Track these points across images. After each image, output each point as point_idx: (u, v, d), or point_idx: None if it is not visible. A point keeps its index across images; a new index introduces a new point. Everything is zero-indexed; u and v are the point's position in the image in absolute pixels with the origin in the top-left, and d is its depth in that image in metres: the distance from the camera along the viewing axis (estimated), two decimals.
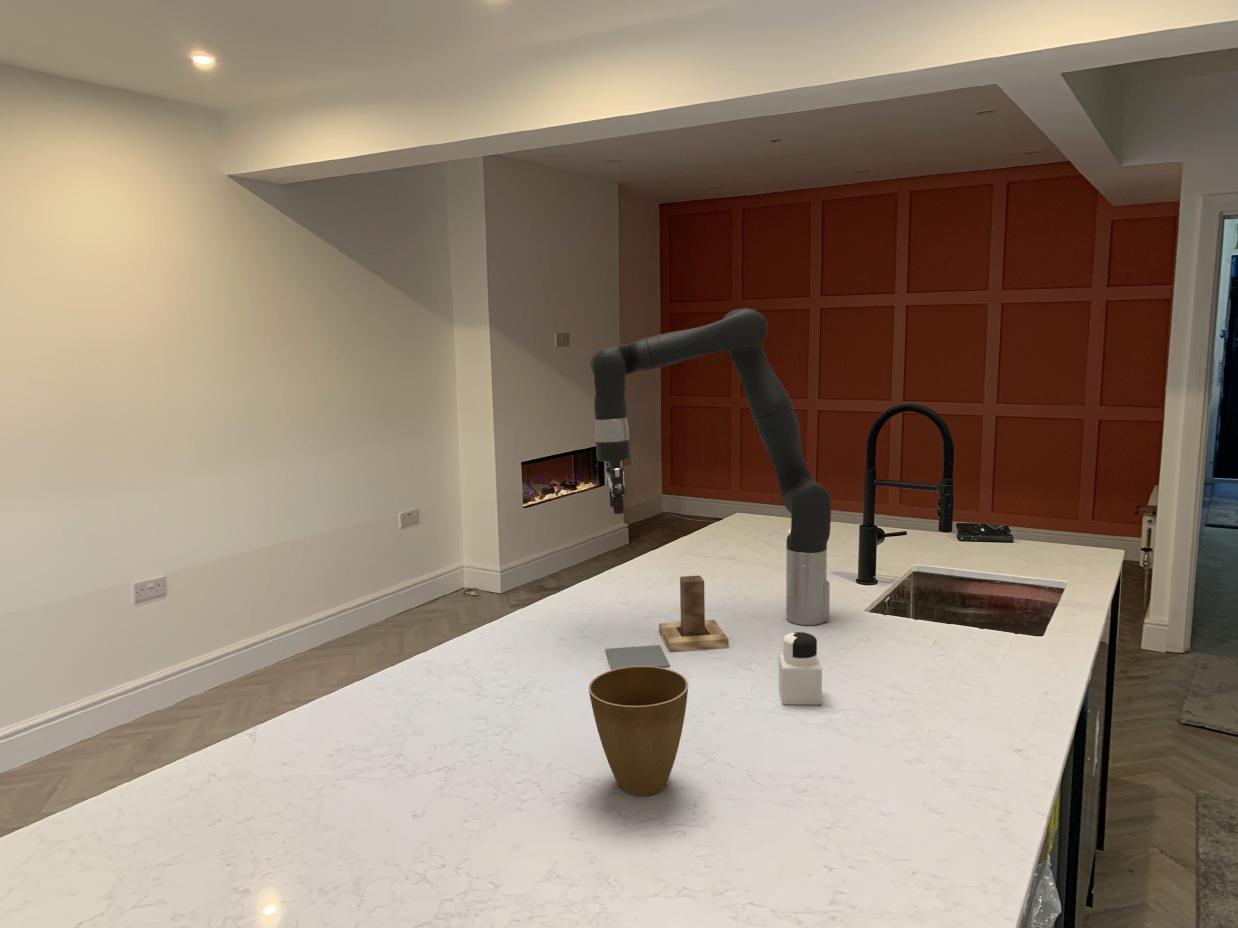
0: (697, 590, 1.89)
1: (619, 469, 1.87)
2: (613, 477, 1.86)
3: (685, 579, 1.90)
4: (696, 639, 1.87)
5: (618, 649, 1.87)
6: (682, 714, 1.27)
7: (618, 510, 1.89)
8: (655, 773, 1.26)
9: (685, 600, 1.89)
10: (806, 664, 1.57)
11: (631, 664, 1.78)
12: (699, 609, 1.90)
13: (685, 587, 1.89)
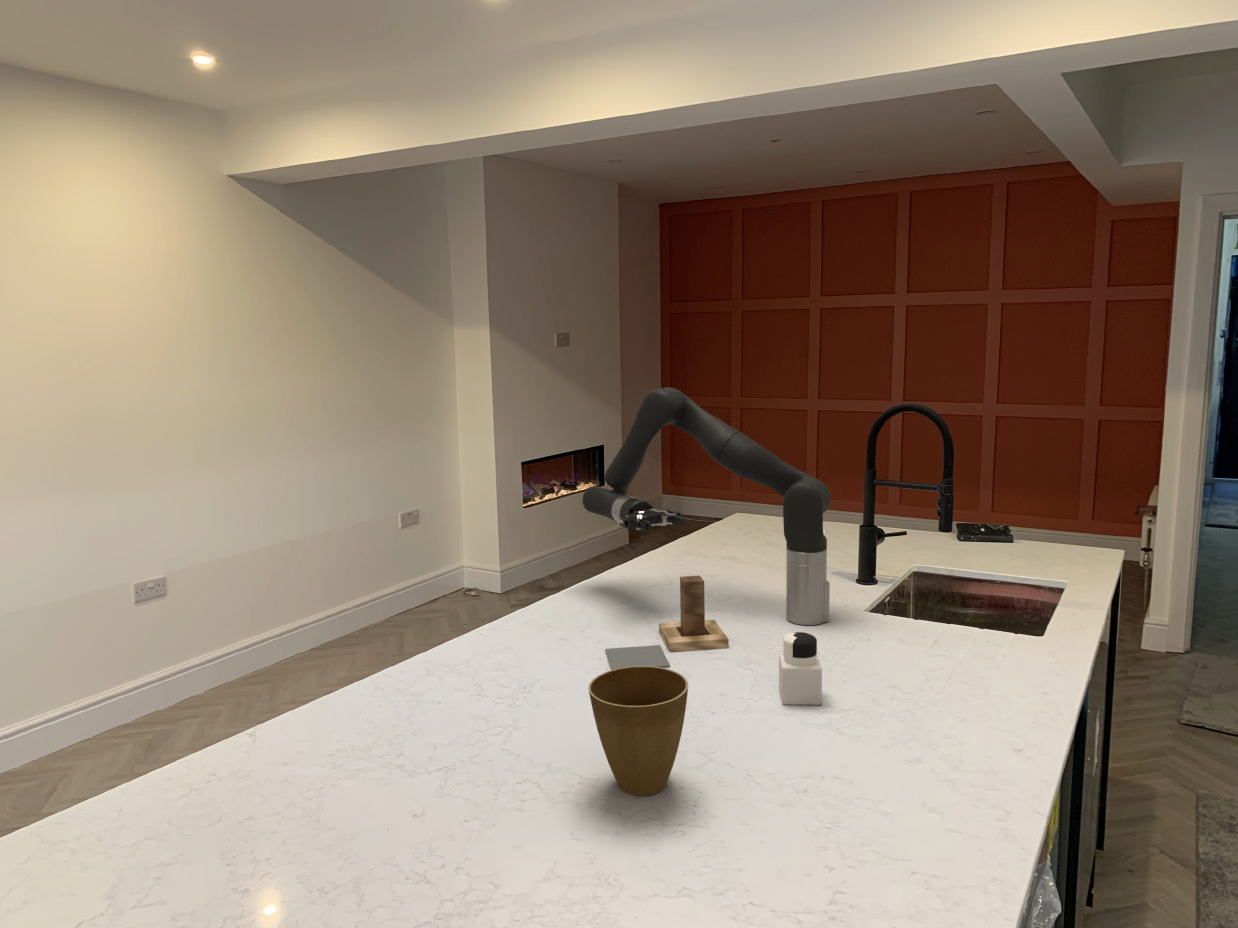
0: (697, 590, 1.89)
1: (619, 518, 2.05)
2: (622, 525, 2.03)
3: (685, 579, 1.90)
4: (696, 639, 1.87)
5: (618, 649, 1.87)
6: (682, 714, 1.27)
7: (644, 527, 1.97)
8: (655, 773, 1.26)
9: (685, 600, 1.89)
10: (806, 664, 1.57)
11: (631, 664, 1.78)
12: (699, 609, 1.90)
13: (685, 587, 1.89)
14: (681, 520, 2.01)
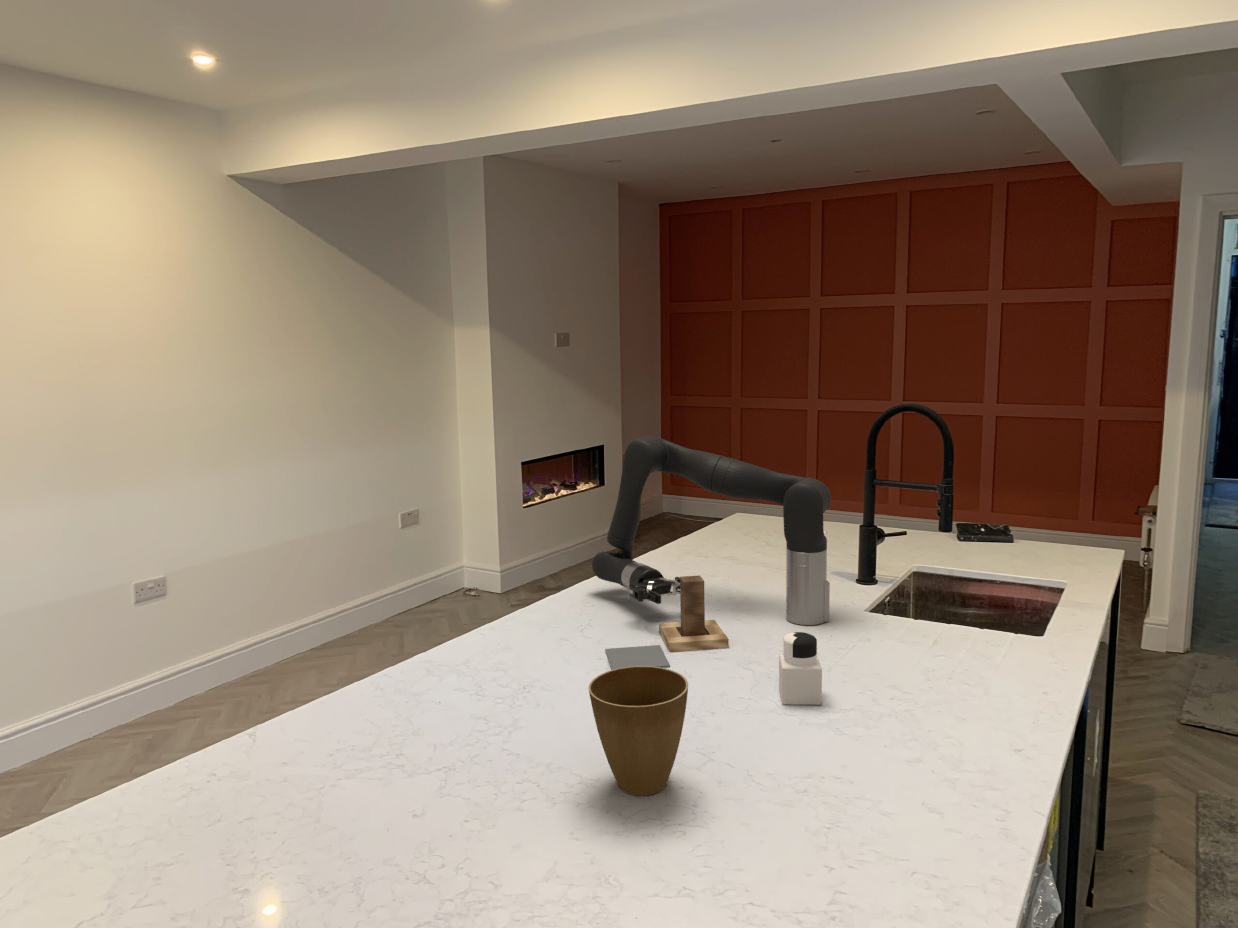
0: (697, 590, 1.89)
1: (629, 588, 2.04)
2: (632, 595, 2.03)
3: (685, 579, 1.90)
4: (696, 639, 1.87)
5: (618, 649, 1.87)
6: (682, 714, 1.27)
7: (654, 599, 1.97)
8: (655, 773, 1.26)
9: (685, 600, 1.89)
10: (806, 664, 1.57)
11: (631, 664, 1.78)
12: (699, 609, 1.90)
13: (685, 587, 1.89)
14: None
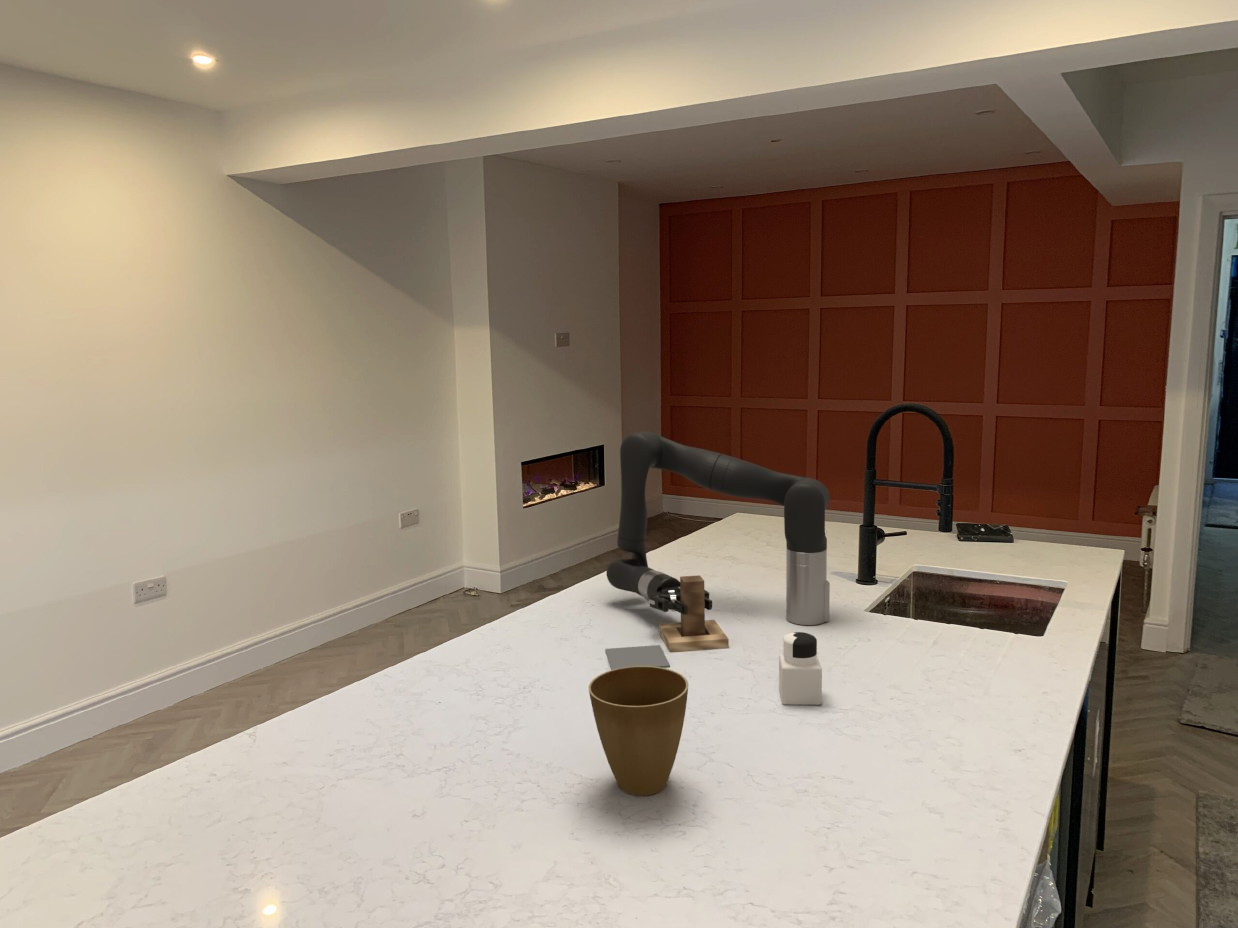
0: (697, 590, 1.89)
1: (649, 598, 1.95)
2: (653, 606, 1.94)
3: (685, 579, 1.90)
4: (696, 639, 1.87)
5: (618, 649, 1.87)
6: (682, 714, 1.27)
7: (680, 610, 1.88)
8: (655, 773, 1.26)
9: (686, 600, 1.89)
10: (806, 664, 1.57)
11: (631, 664, 1.78)
12: (700, 609, 1.90)
13: (685, 587, 1.89)
14: (710, 603, 1.91)
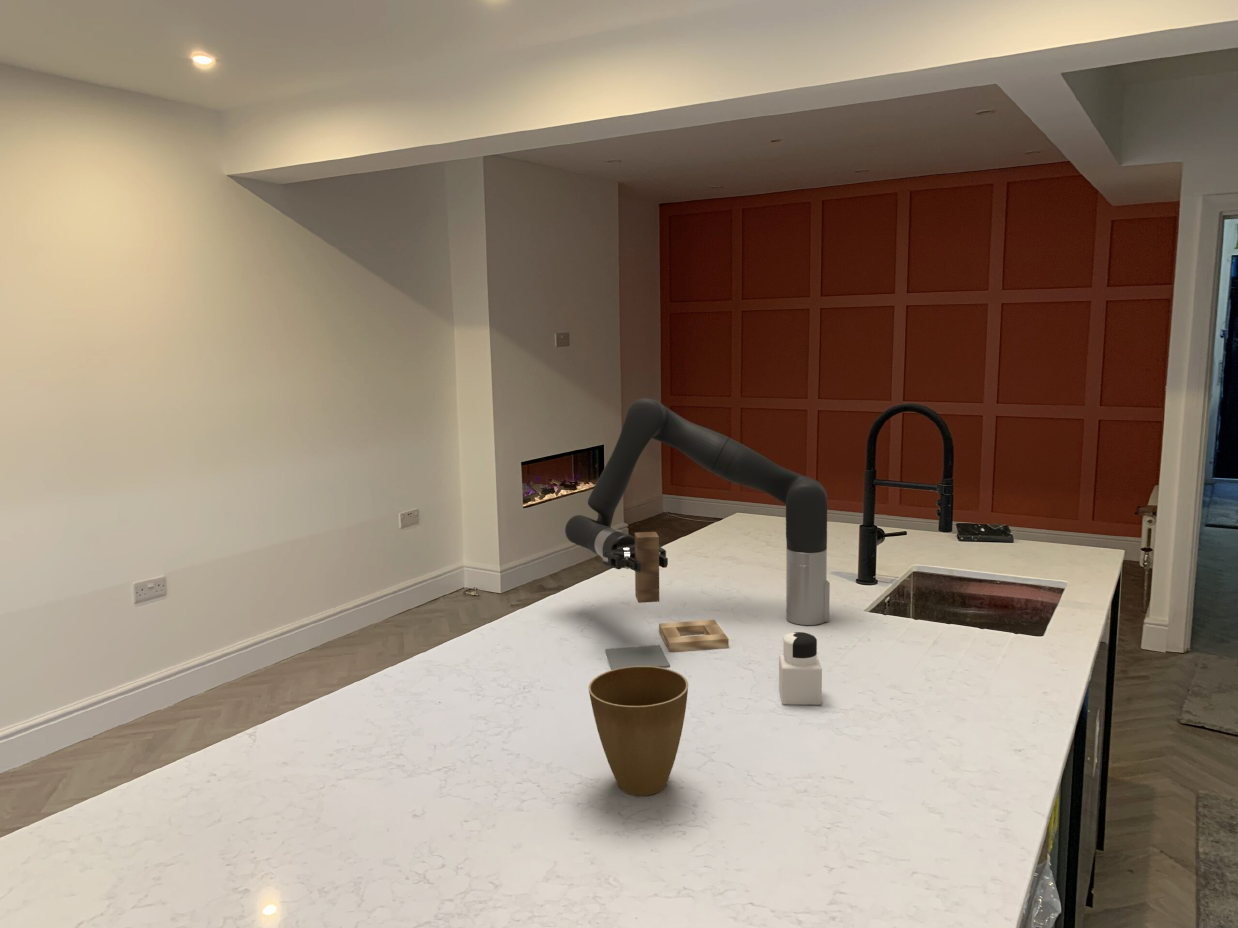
0: (651, 546, 1.80)
1: (603, 555, 1.86)
2: (607, 564, 1.85)
3: (639, 535, 1.81)
4: (696, 639, 1.87)
5: (618, 649, 1.87)
6: (682, 714, 1.27)
7: (633, 567, 1.79)
8: (655, 773, 1.26)
9: (639, 557, 1.80)
10: (806, 664, 1.57)
11: (631, 664, 1.78)
12: (654, 567, 1.81)
13: (638, 543, 1.79)
14: (665, 560, 1.82)
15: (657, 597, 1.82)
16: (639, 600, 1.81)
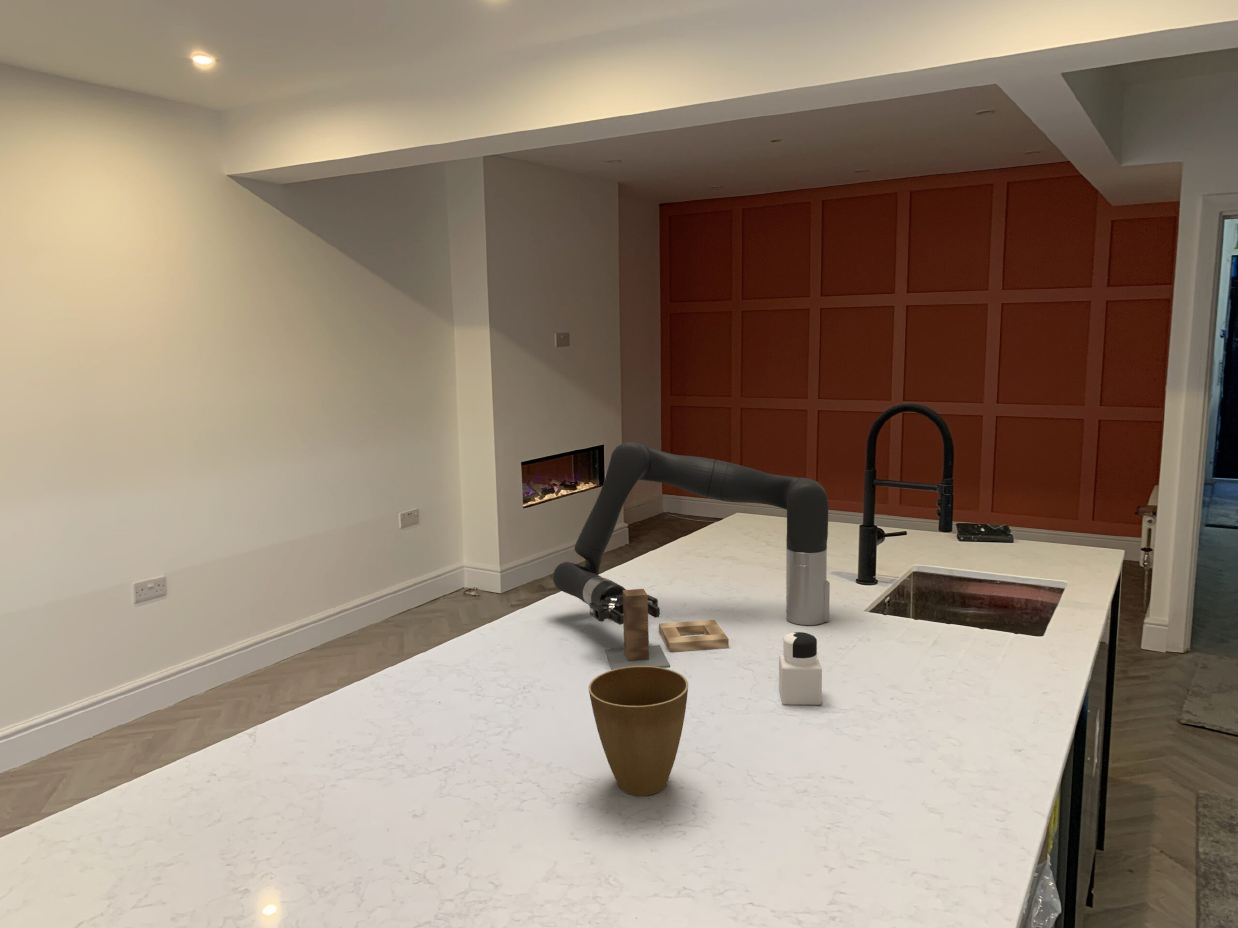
0: (640, 604, 1.79)
1: None
2: (592, 615, 1.84)
3: (627, 593, 1.80)
4: (696, 639, 1.87)
5: (618, 649, 1.87)
6: (682, 714, 1.27)
7: (616, 620, 1.78)
8: (655, 773, 1.26)
9: (628, 615, 1.79)
10: (806, 664, 1.57)
11: (631, 664, 1.78)
12: (643, 625, 1.79)
13: (627, 601, 1.78)
14: (657, 610, 1.81)
15: (647, 655, 1.80)
16: (629, 659, 1.80)
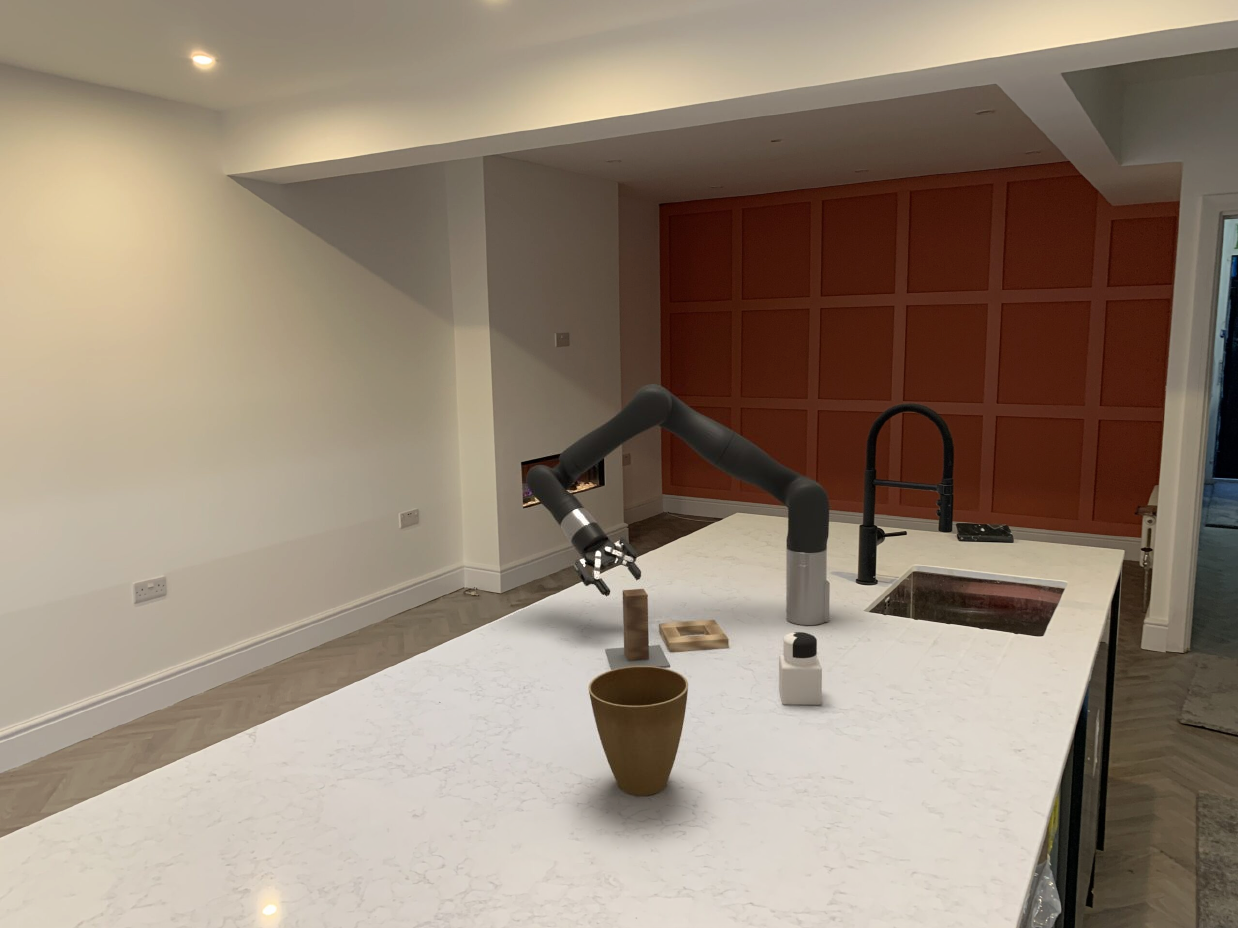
0: (640, 604, 1.79)
1: None
2: (577, 572, 1.93)
3: (627, 593, 1.80)
4: (696, 639, 1.87)
5: (618, 649, 1.87)
6: (682, 714, 1.27)
7: (602, 593, 1.90)
8: (655, 773, 1.26)
9: (628, 615, 1.79)
10: (806, 664, 1.57)
11: (631, 664, 1.78)
12: (643, 625, 1.79)
13: (627, 601, 1.78)
14: (639, 576, 1.94)
15: (647, 655, 1.80)
16: (629, 659, 1.80)
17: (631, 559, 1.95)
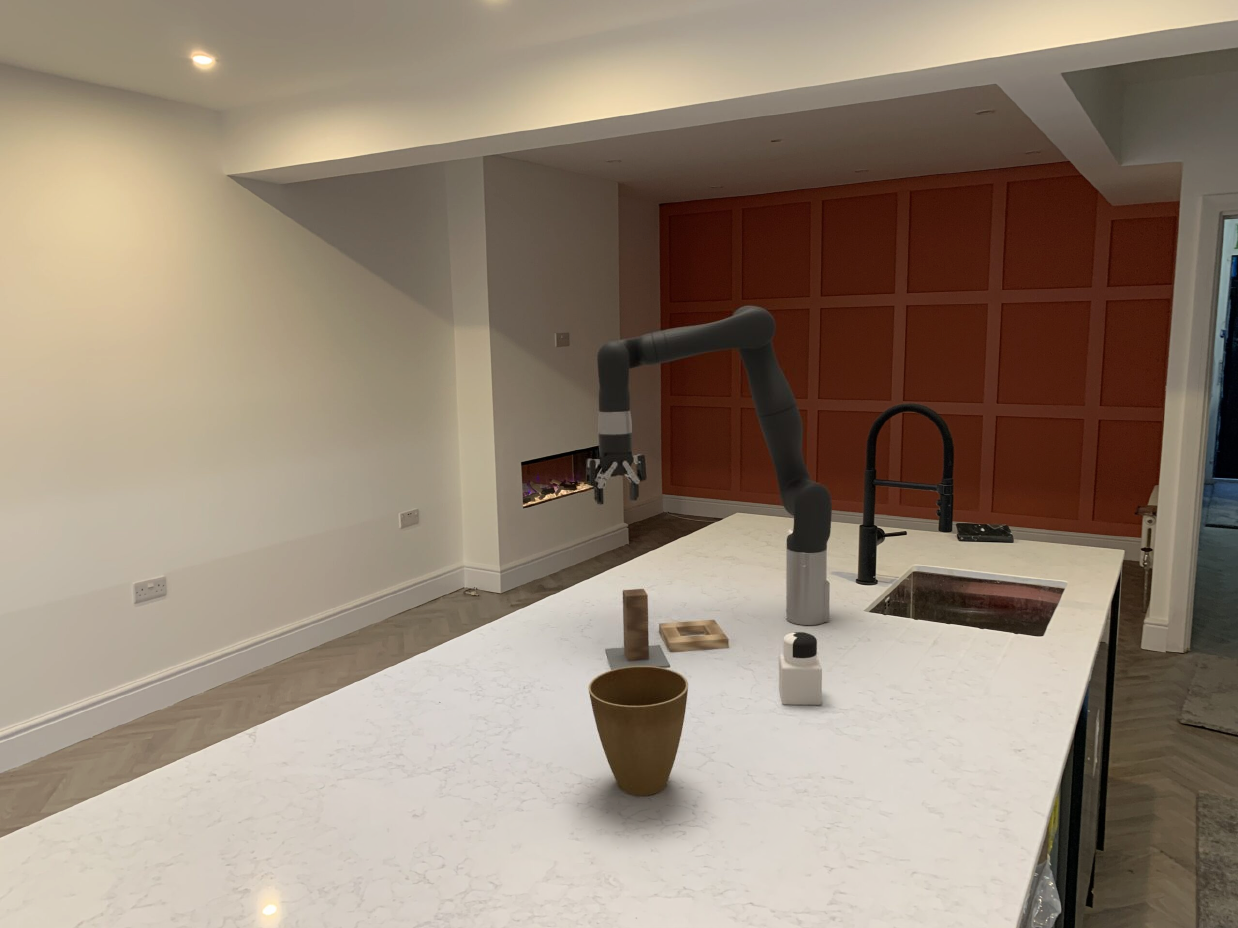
0: (640, 604, 1.79)
1: (590, 460, 1.92)
2: (586, 467, 1.93)
3: (627, 593, 1.80)
4: (696, 639, 1.87)
5: (618, 649, 1.87)
6: (682, 714, 1.27)
7: (595, 500, 1.94)
8: (655, 773, 1.26)
9: (628, 615, 1.79)
10: (806, 664, 1.57)
11: (631, 664, 1.78)
12: (643, 625, 1.79)
13: (627, 601, 1.78)
14: (634, 500, 1.98)
15: (647, 655, 1.80)
16: (629, 659, 1.80)
17: (638, 482, 1.97)
